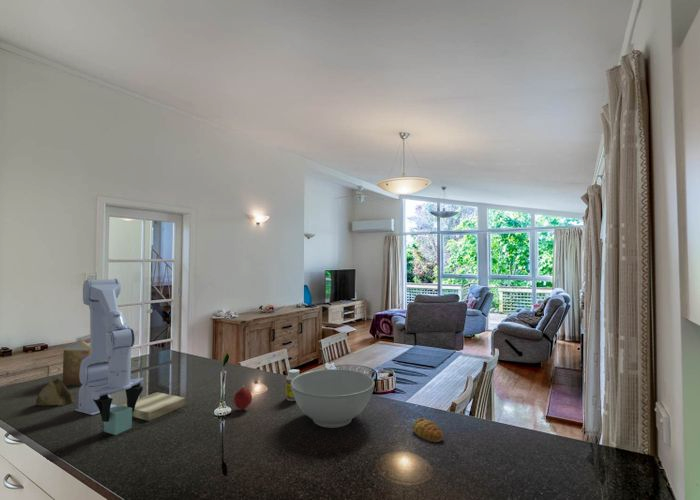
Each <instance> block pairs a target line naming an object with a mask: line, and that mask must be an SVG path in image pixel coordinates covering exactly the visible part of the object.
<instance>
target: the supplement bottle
mask: <svg viewBox="0 0 700 500" xmlns="http://www.w3.org/2000/svg"><path fill="white" fill-rule="evenodd" d="M287 373H288V375H287V376H286V378H285V381H286V382H285V383H286V385H285V399H286V400H287V401H288V402H289V401H291V402H293V401H294V402H296V400H295V398H294V396H293V393H292V390H291V381H292V380H293V379H294V378H295V377H296V376H298V375H300V369H298V368H297V369H294V368H292V369H289V370H288V372H287Z"/></svg>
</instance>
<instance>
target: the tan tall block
mask: <svg viewBox="0 0 700 500" xmlns="http://www.w3.org/2000/svg"><path fill="white" fill-rule="evenodd" d="M62 351H63V353H62V354H63V355H62V358H63V359H62V360H63V361H62V381H61V382H62V383H63V384H77V385H76V386H82V385H83V384H81V382H80V378H79V372H80V364H81V362H82V360H84V359H85V358H86V357H87V356H89V355H90V354H91V345H90V333H89V334H85V335H82V336H78V337H76V339H75V341H74V342H73V343H71V344H69V345H67V346H66V347H65V348H64V349H63V350H62ZM102 362H107V361H102ZM102 362H96V363H102ZM96 363H91V364H96ZM89 365H90V364H89Z"/></svg>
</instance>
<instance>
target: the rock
mask: <svg viewBox="0 0 700 500" xmlns="http://www.w3.org/2000/svg"><path fill="white" fill-rule="evenodd" d="M62 382H63V381H61V380H60V379H59V378H58V377H53V378H52V379H51V380H50V381H49V382H47V384H46V385H45V386H43V388H42V389H41V390H40V392H39V393H38V394H37V397H36V399H35V404H36V406H37V405H38V406H50V405H58V406H61V405H62V406H66V405H70V404H73V403H75V400H74V397H73V396H72V394H71V392H70V391H69V389H68V388H67V387H66V385H64V384H63V383H62ZM72 402H73V403H72ZM69 403H70V404H69ZM58 406H57V407H58Z"/></svg>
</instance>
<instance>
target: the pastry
mask: <svg viewBox="0 0 700 500" xmlns="http://www.w3.org/2000/svg"><path fill="white" fill-rule="evenodd" d="M411 429H412V431H413V433H414V434H415V435H416V436H418V437H419V438H422V439H423V440H425V441H428V442H434V443H437V442H441V441H443V440H444V439H443V438H444V436H445V435H444V433H443V430H442V429H441V428H440V426H438V425H437V424H436V423H435V422H434V421H432V420H430V419H428V420H427V419H426V418H424V417H420V418H417V420H415V421H414V423H413V425H412V428H411Z"/></svg>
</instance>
